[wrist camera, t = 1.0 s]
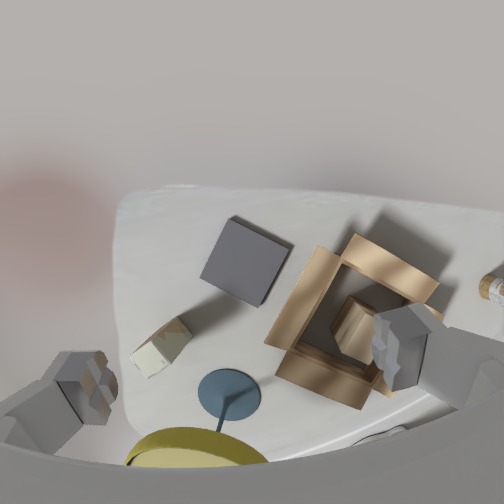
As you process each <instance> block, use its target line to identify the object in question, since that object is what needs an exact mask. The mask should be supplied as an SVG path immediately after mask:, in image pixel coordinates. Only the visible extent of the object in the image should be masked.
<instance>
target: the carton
mask: <svg viewBox="0 0 504 504" xmlns="http://www.w3.org/2000/svg"><path fill="white" fill-rule="evenodd" d="M342 263H343V264H345V265H347V266H349V267H351V268H353V269H354V270H356V271H358V272H360V273H362V274H364V275H365V276H367V277H369V278H371V279H373V280H375V281H376V282H378V283H380V284H382V285H384V286H385V287H387V288H389V289H391V290H393V291H394V292H396V293H398V294H400V295H402V296H403V297H405V298H407V299H406V300H405V302H404V304H403V306H402V307H404V306H407V305H410V304H414V303H417V302H420V303H423V304H424V303H425V302H426V301H427V299H428V298H429V297H430V296H431V294H432V293H433V292H434V290H435V289H436V288H437V286H438V285H439V284H440V283H439V282H438V281H437V280H435V279H433V278H432V277H430V276H429V275H427V274H425V273H424V272H422V271H420V270H419V269H417V268H415V267H414V266H412V265H411V264H409V263H407V262H406V261H404V260H402V259H400V258H399V257H397V256H395V255H394V254H392V253H390V252H389V251H387V250H385V249H383V248H382V247H380V246H378V245H377V244H375V243H373V242H371V241H370V240H368V239H366V238H364V237H362V236H361V235H359V234H357V233H354V235H353V237H352V238H351V240H350V242H349V243H348V245H347V246H346V248H345V250H344V251H343V253H342V254H341V256H338V255H336V254H335V253H332V252H330V251H328V250H326V249H324V248H323V247H321V246H319V245H317V246H316V248H315V250H314V251H313V253H312V255H311V257H310V259H309V261H308V263H307V265H306V267H305V269H304V270H303V272H302V274H301V276H300V278H299V280H298V282H297V283H296V285H295V287H294V289H293V291H292V293H291V294H290V296H289V298H288V300H287V302H286V304H285V305H284V307H283V309H282V311H281V313H280V314H279V316H278V318H277V320H276V322H275V323H274V325H273V327H272V329H271V330H270V332H269V334H268V336H267V337H266V339H265V341H264V343H265V344H268V345H271V346H274V347H277V348H280V349H283V350H286V351H287V352H286V354H285V356H284V358H283V360H282V362H281V364H280V366H279V368H278V370H277V372H276V374H275V375H276V376H278V377H281V378H283V379H285V380H287V381H290V382H292V383H294V384H296V385H299V386H301V387H303V388H306V389H308V390H310V391H313V392H315V393H318V394H320V395H322V396H325V397H327V398H330V399H332V400H335V401H337V402H340V403H342V404H345V405H348V406H350V407H353V408H355V409H358V410H361V409H362V407H363V405H364V404H365V402H366V400H367V398H368V396H369V394H370V392H371V389H372V388H373V389H375V390H376V391H378V392H380V393H382V394H384V395H385V396H387V397H389V398H391V399H393V397H394V396H395V395H396V393H397V392H398V391H395V392H391V391H390V389H389V387H388V385H387V383H386V382H385V380H384V378H383V375H384V371H383V370H381V369H379V368H378V367H377V366H376V364H375V361H374V359H373V360H372V362H371V363H370V365H367V366H366V367H365V369H364V370H363V369H361V368H359V367H356V366H354V365H352V364H350V363H347V362H345V361H343V360H341V359H338V358H336V357H334V356H332V355H330V354H327V353H325V352H323V351H321V350H319V349H317V348H315V347H312V346H310V345H308V344H306V343H304V342H302V341H300V340H299V339H300V337H301V335H302V333H303V332H304V330H305V328H306V327H307V325H308V323H309V322H310V320H311V318H312V316H313V315H314V313H315V311H316V309H317V308H318V306H319V304H320V302H321V300H322V299H323V297H324V295H325V293H326V291H327V290H328V288H329V286H330V284H331V282H332V280H333V279H334V277H335V275H336V273H337V271H338V269H339V267H340V266H341V264H342ZM424 305H425V306H426V307H427V308H428V309H429V310H430V311H431V312H432V313H433V314H434V315H435V316H436V317H437V318H438V319H439V320H440V321H441V322H442V320H443V318H444V316H445V315H443V314H441V313H439V312H438V311H436V310H434V309H433V308H431V307H429V306H427V305H426V304H424Z"/></svg>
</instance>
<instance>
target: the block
mask: <svg viewBox="0 0 504 504" xmlns="http://www.w3.org/2000/svg"><path fill="white" fill-rule="evenodd" d="M377 313H378V312H377V311H376V310H375V309H374V308H373V307H371V306H369V305H367V304H365V303H363V302H361V301H359V300H357V299H355V298H354V297H352V296H350V295H349V296H348V298H347V300H346V302H345V303H344V305H343V307H342V309H341V311H340V312H339V314H338V316H337V317H336V319H335V321H334V323H333V324H332V326H331V328H330V329H331V331H332V333H333V335H334V337H335V339H336V342H337V344H338V346H339V348H340V350H341V353H343V354H345V355H347V356H350V357H352V358H354V359H356V360H358V361H361V362H363V363H365V364H367V365H370V363H371V362H372V360H373V355H372V338H373V336H374V335H375V334H376V331H375V329H374V328H373V318H374V314H377Z"/></svg>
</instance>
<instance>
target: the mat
mask: <svg viewBox="0 0 504 504" xmlns="http://www.w3.org/2000/svg"><path fill="white" fill-rule="evenodd" d="M288 251H289V249H288V248H286V247H284V246H282V245H280V244H278V243H276V242H274V241H272V240H270V239H268V238H267V237H265V236H263V235H261V234H259V233H257V232H255V231H253V230H251V229H249V228H247V227H245V226H243V225H241V224H239V223H237V222H235V221H233V220H231V219H228V220H227V222H226V224H225V226H224V228H223V230H222V233H221V235H220V237H219V239H218V241H217V243H216V245H215V247H214V249H213V251H212V253H211V255H210V257H209V259H208V261H207V263H206V265H205V267H204V269H203V272H202V274H201V276H200V278H201V279H203V280H205V281H207V282H208V283H210V284H212V285H214V286H216V287H218V288H220V289H222V290H224V291H226V292H227V293H229V294H231V295H233V296H235V297H237V298H239V299H241V300H243V301H245V302H247V303H249V304H251V305H253V306H255V307H257V308H258V307H259V305H260V304H261V302H262V300H263V298H264V296H265V294H266V292H267V291H268V289H269V287H270V285H271V283H272V281H273V279H274V277H275V275H276V274H277V272H278V270H279V268H280V266H281V264H282V262H283V260H284V258H285V256H286V255H287V253H288Z"/></svg>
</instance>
